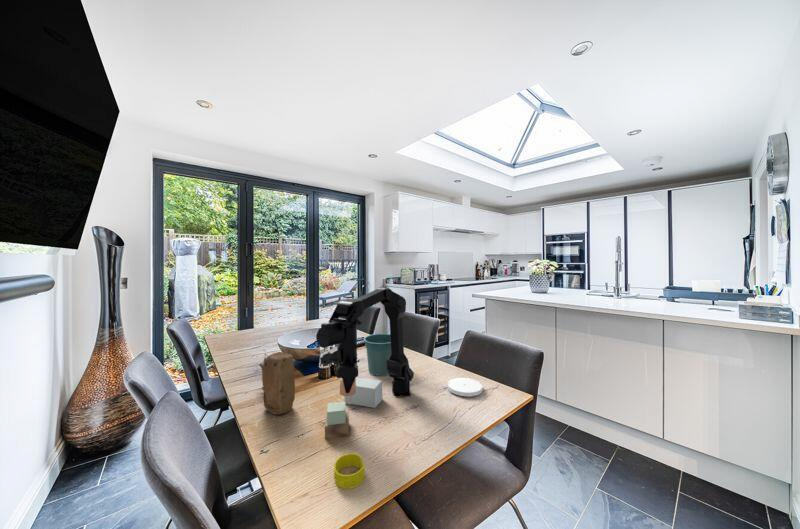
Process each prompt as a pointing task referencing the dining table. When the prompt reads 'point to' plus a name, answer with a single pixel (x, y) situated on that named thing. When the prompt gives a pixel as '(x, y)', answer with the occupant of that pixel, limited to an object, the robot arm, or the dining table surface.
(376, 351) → the flower pot
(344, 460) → the bracelet
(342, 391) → the brown oval piece
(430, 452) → the dining table surface
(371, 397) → the supplement box
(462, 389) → the plastic lid
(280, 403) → the block
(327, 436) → the bottom block
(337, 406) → the top block
